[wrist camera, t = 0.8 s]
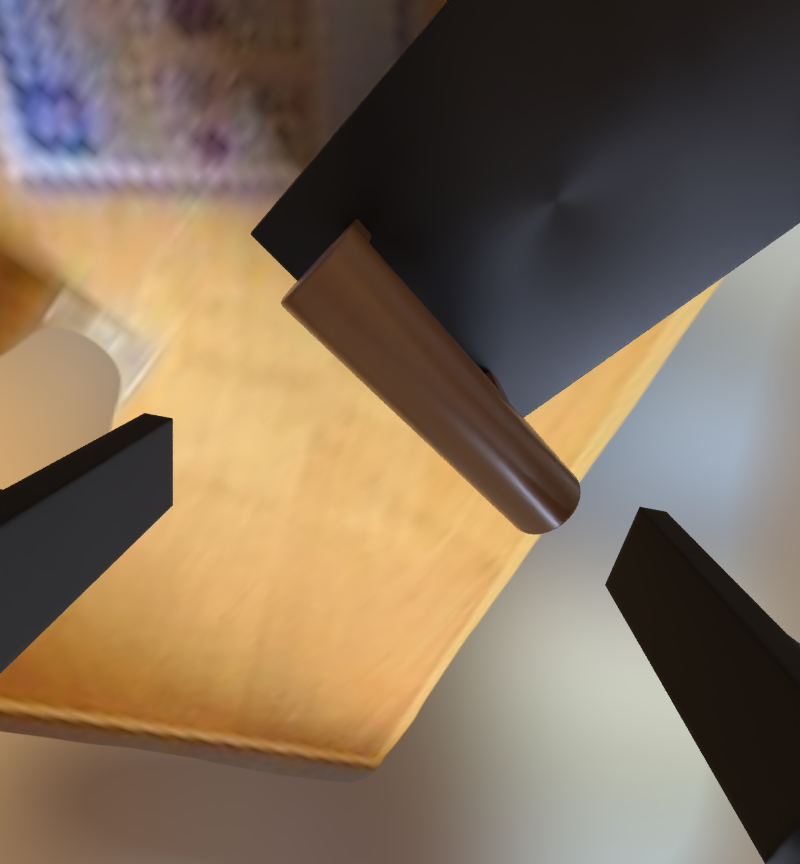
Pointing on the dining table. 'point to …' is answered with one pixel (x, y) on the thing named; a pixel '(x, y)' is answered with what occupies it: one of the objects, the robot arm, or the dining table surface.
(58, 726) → the dining table surface
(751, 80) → the bacon press
